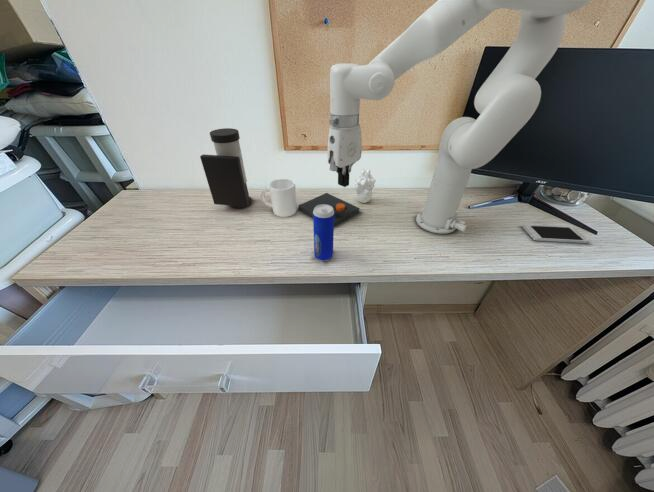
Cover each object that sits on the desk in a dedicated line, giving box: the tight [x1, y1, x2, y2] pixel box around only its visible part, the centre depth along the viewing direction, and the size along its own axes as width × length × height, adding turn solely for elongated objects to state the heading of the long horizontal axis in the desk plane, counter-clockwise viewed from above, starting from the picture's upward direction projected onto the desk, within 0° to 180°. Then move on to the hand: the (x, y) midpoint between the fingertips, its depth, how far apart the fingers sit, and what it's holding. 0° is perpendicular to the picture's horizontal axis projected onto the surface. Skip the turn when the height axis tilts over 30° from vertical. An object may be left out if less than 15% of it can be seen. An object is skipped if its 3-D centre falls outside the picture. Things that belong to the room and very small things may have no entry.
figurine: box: [354, 168, 376, 204], centre depth 92 cm, size 7×7×12 cm
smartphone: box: [522, 224, 590, 244], centre depth 79 cm, size 7×15×1 cm, turn 86°
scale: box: [297, 192, 360, 227], centre depth 89 cm, size 16×14×4 cm
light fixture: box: [199, 127, 253, 210], centre depth 85 cm, size 12×11×25 cm
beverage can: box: [312, 204, 335, 262], centre depth 66 cm, size 5×5×15 cm
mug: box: [260, 178, 298, 218], centre depth 87 cm, size 12×8×10 cm
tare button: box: [336, 203, 345, 211], centre depth 85 cm, size 3×3×2 cm
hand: (343, 184), depth 79 cm, fingers closed
